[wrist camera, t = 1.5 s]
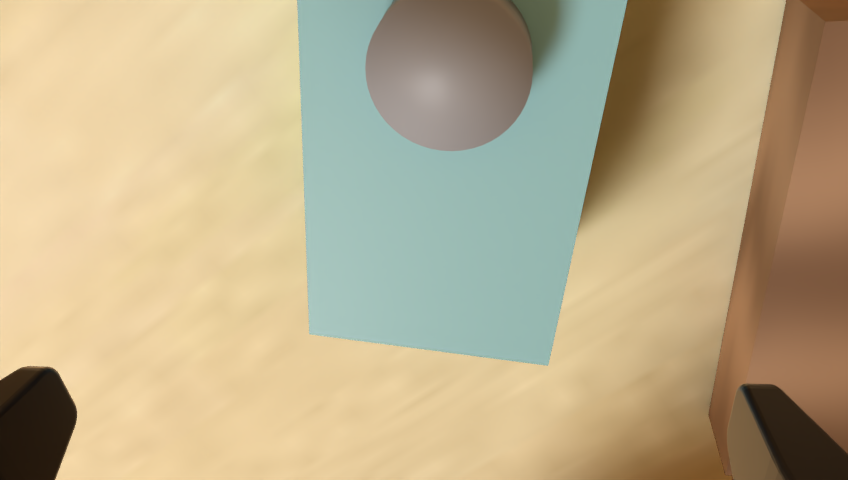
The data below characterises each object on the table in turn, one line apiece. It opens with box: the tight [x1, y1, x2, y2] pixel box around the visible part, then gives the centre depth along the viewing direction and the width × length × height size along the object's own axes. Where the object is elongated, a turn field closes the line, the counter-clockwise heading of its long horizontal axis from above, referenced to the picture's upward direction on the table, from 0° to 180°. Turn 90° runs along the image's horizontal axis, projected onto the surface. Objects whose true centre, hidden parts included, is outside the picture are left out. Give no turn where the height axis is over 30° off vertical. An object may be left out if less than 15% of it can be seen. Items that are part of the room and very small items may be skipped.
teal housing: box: [297, 0, 627, 366], centre depth 17 cm, size 10×6×6 cm, turn 176°
